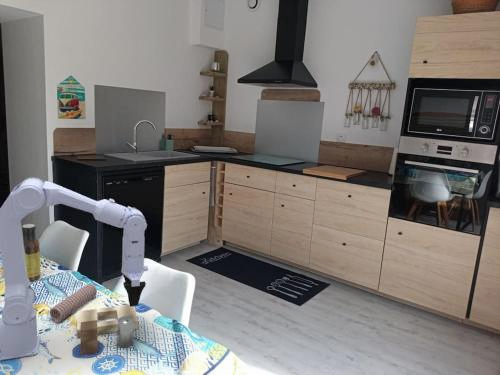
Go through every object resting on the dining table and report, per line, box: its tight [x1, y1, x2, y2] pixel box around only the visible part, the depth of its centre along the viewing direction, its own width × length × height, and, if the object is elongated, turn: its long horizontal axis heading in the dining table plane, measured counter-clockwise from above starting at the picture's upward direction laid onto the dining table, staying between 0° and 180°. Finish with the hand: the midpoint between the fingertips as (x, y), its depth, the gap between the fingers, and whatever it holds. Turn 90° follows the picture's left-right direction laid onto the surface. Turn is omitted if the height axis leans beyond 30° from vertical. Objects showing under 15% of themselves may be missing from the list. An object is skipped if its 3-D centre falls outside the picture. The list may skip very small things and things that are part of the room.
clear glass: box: [116, 316, 134, 349], centre depth 102 cm, size 4×4×7 cm
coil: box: [49, 283, 98, 324], centre depth 117 cm, size 5×5×18 cm
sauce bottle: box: [21, 223, 41, 282], centre depth 132 cm, size 6×6×20 cm
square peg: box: [79, 320, 99, 356], centre depth 98 cm, size 4×4×7 cm
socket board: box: [76, 304, 139, 339], centre depth 110 cm, size 16×10×2 cm, turn 113°
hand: (132, 298), depth 106 cm, fingers open, 7 cm apart
